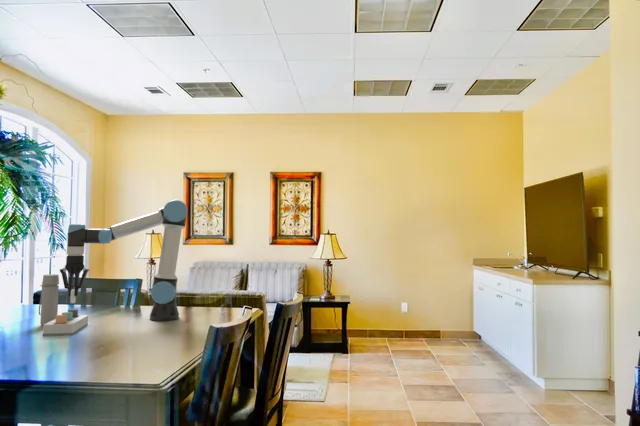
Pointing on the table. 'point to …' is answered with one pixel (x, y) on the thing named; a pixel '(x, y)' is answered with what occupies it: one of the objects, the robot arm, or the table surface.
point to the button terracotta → (61, 319)
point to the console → (65, 326)
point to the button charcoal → (74, 312)
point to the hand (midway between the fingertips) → (72, 302)
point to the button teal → (68, 315)
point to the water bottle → (49, 298)
